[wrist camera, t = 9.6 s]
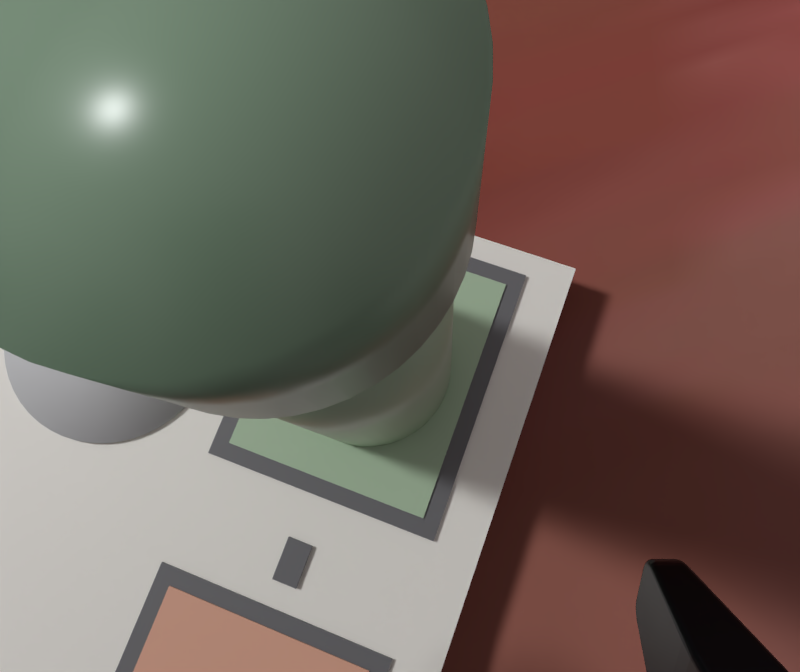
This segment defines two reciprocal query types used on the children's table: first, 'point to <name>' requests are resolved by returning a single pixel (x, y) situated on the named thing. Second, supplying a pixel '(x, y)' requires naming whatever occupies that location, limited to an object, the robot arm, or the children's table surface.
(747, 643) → the robot arm
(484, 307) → the white flat rectangular board
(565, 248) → the children's table surface
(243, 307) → the green joystick knob
